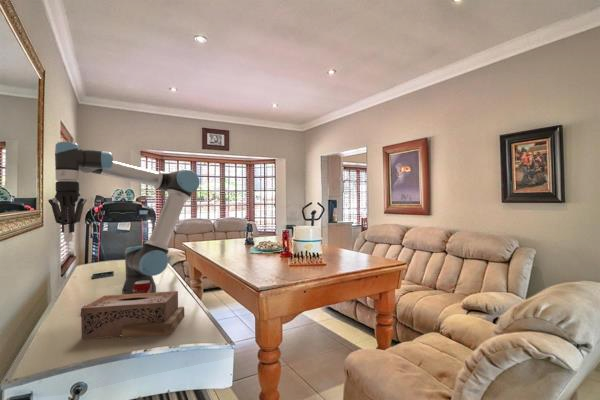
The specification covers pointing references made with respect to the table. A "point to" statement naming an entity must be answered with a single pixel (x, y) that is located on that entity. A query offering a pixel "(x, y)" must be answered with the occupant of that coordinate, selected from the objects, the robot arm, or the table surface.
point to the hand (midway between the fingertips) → (68, 241)
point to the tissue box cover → (126, 312)
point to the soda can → (142, 287)
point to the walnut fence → (154, 326)
